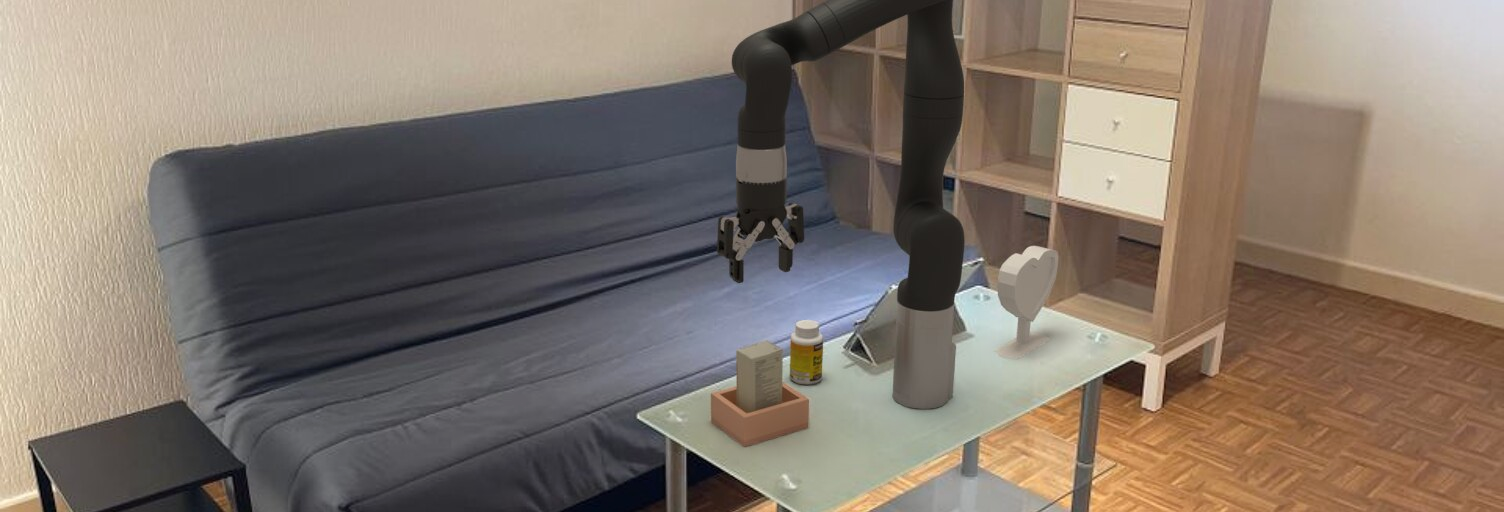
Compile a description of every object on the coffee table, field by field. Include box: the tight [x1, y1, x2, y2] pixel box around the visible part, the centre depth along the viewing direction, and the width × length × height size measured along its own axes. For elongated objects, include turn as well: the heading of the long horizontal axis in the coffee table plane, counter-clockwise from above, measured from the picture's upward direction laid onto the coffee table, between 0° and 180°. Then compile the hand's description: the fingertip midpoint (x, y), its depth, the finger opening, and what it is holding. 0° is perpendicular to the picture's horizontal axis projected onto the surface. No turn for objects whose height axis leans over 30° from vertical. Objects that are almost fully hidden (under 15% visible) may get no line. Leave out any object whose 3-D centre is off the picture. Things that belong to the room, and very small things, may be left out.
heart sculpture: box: [993, 245, 1059, 360], centre depth 224 cm, size 16×5×18 cm, turn 139°
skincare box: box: [735, 340, 784, 413], centre depth 195 cm, size 6×4×12 cm
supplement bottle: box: [789, 319, 824, 385], centre depth 211 cm, size 6×6×10 cm
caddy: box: [710, 381, 810, 448], centre depth 196 cm, size 12×10×5 cm
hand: (761, 276), depth 190 cm, fingers open, 8 cm apart
